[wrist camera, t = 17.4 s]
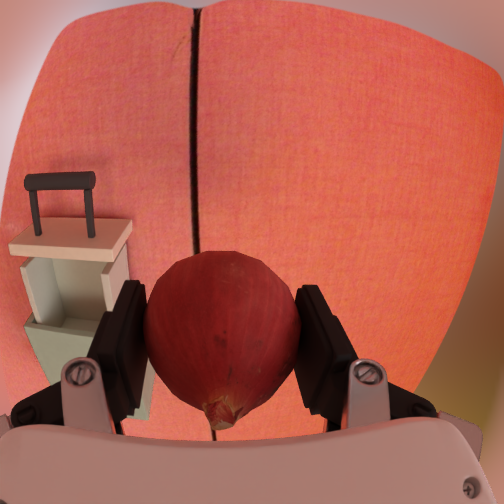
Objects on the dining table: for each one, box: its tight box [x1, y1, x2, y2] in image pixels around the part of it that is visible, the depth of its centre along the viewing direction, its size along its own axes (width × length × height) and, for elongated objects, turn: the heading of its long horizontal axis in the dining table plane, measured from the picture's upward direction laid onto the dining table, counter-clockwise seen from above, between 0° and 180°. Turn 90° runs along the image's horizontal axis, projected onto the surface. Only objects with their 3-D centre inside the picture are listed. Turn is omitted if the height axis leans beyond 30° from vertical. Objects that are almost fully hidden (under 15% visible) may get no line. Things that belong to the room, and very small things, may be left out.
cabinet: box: [24, 312, 155, 420], centre depth 32 cm, size 15×13×9 cm
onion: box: [143, 251, 302, 430], centre depth 11 cm, size 6×6×8 cm
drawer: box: [8, 171, 132, 333], centre depth 26 cm, size 19×11×7 cm, turn 173°
